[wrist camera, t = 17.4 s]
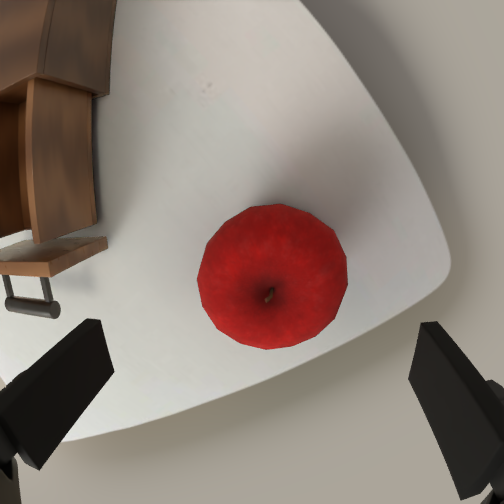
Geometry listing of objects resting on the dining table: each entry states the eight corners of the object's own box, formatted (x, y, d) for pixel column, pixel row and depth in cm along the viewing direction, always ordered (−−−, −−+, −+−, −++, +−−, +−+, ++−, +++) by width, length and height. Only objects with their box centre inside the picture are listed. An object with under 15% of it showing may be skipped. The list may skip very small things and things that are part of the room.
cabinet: (109, 94, 25) (36, 72, 15) (19, 124, 27) (-49, 122, 17) (124, -43, 20) (78, -87, 10) (36, -3, 22) (-15, -26, 12)
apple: (228, 306, 29) (198, 376, 19) (212, 203, 27) (165, 225, 16) (336, 298, 28) (358, 367, 17) (329, 190, 25) (356, 205, 15)
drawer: (115, 293, 29) (64, 333, 21) (34, 287, 31) (-16, 316, 22) (100, 70, 24) (42, 47, 15) (18, 101, 25) (-38, 96, 17)
